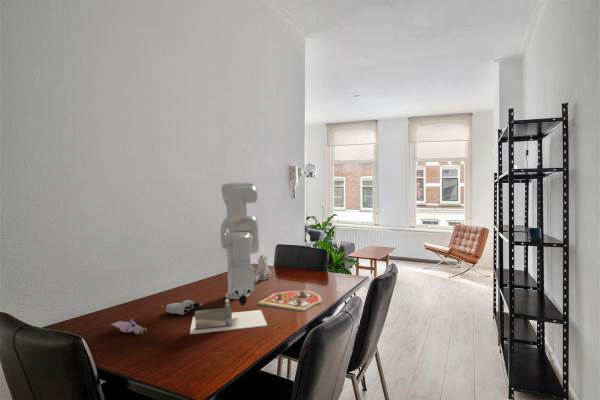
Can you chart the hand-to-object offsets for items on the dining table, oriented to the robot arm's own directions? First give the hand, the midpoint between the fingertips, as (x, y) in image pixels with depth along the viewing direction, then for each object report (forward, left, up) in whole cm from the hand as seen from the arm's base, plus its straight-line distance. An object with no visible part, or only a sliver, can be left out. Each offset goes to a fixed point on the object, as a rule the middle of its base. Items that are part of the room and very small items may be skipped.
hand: (242, 304), depth 155 cm
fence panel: (+3, -7, -5) cm, 9 cm away
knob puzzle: (-18, +28, -6) cm, 33 cm away
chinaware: (-69, +15, -6) cm, 71 cm away
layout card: (+5, -6, -5) cm, 10 cm away
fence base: (+11, -12, -5) cm, 17 cm away
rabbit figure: (+5, -45, -6) cm, 46 cm away
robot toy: (-15, -26, -6) cm, 31 cm away
